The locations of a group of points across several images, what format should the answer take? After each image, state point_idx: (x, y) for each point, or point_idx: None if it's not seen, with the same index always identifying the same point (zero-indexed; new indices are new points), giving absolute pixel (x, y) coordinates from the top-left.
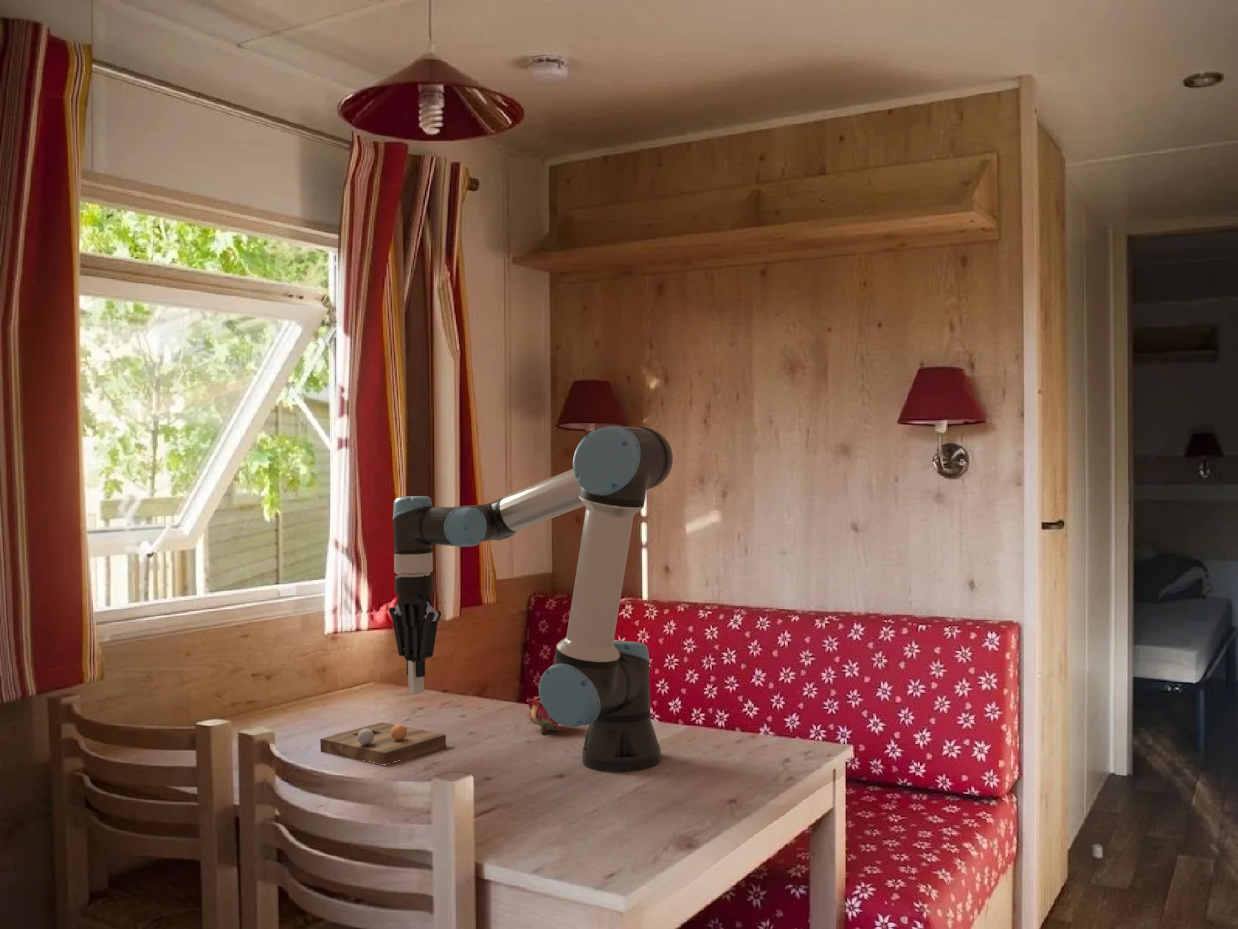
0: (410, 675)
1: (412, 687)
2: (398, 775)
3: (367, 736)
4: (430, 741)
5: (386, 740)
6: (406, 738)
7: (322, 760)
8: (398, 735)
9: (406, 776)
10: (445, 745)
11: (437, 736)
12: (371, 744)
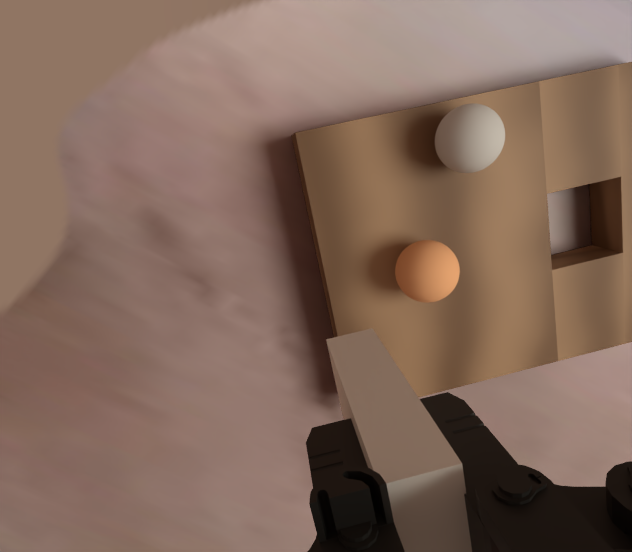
0: (382, 392)
1: (342, 355)
2: (147, 109)
3: (442, 129)
4: None
5: (447, 227)
6: None
7: (526, 6)
8: (401, 254)
9: (114, 124)
10: None
11: None
12: None
